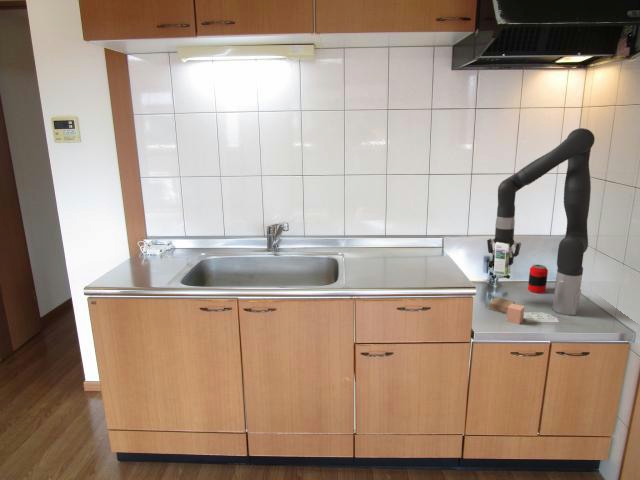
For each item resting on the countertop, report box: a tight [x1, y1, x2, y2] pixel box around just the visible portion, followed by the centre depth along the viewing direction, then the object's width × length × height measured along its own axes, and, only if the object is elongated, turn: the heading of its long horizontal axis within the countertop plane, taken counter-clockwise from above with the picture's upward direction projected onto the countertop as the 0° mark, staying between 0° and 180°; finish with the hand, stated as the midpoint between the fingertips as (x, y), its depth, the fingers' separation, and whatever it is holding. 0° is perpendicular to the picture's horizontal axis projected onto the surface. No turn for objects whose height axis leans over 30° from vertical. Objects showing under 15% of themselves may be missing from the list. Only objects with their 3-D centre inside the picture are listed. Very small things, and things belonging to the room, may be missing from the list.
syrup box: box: [493, 242, 513, 277], centre depth 196 cm, size 6×6×14 cm
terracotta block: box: [506, 303, 525, 325], centre depth 181 cm, size 5×5×6 cm
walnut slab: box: [488, 297, 516, 315], centre depth 193 cm, size 8×8×3 cm
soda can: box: [527, 264, 549, 294], centre depth 210 cm, size 8×8×12 cm
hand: (502, 263), depth 197 cm, fingers closed on syrup box, 6 cm apart
